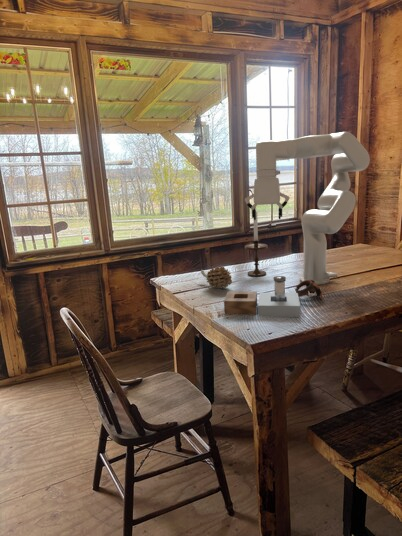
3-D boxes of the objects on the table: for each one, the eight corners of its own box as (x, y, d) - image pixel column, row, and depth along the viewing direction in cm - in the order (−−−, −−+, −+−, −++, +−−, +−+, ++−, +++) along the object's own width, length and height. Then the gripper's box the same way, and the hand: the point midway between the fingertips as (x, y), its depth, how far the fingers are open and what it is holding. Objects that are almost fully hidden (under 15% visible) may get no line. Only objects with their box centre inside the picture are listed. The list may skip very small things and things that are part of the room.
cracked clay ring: (324, 304, 136) (313, 287, 134) (301, 312, 141) (290, 295, 139) (326, 287, 146) (316, 271, 144) (304, 295, 151) (294, 279, 149)
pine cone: (239, 289, 159) (238, 266, 157) (222, 294, 153) (221, 271, 151) (207, 279, 176) (206, 259, 174) (191, 284, 171) (189, 263, 168)
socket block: (297, 302, 138) (297, 292, 137) (300, 316, 125) (300, 305, 124) (259, 302, 141) (259, 292, 140) (258, 316, 127) (258, 305, 126)
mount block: (257, 304, 139) (256, 291, 138) (255, 314, 129) (255, 301, 128) (228, 303, 142) (227, 291, 140) (224, 314, 131) (224, 301, 130)
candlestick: (272, 275, 177) (271, 201, 168) (252, 278, 173) (250, 203, 165) (261, 270, 187) (259, 200, 178) (241, 273, 183) (239, 202, 175)
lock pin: (285, 307, 134) (285, 275, 131) (286, 311, 130) (285, 279, 127) (274, 307, 135) (273, 275, 132) (273, 311, 131) (273, 279, 128)
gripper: (289, 173, 143) (289, 217, 147) (244, 175, 146) (245, 218, 150) (289, 173, 136) (290, 219, 140) (243, 176, 139) (244, 221, 143)
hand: (267, 219), depth 145 cm, fingers open, 9 cm apart
